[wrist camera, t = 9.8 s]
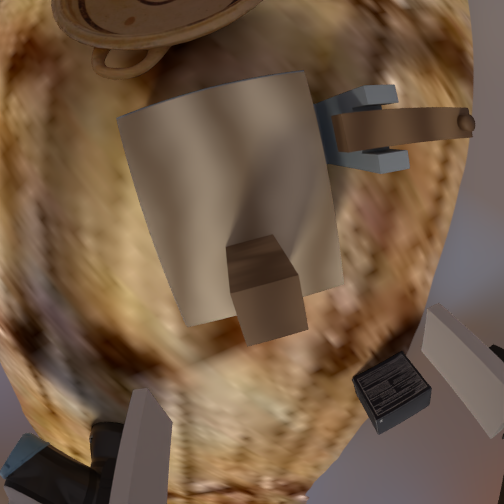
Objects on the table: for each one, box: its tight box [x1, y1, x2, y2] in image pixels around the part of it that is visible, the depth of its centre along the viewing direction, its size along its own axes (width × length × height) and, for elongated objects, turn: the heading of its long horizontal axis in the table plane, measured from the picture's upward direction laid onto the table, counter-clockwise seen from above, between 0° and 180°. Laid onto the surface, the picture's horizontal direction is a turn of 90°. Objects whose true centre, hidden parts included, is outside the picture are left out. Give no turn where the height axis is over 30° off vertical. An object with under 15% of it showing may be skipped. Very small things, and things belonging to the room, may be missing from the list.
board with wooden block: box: [117, 72, 344, 347], centre depth 19 cm, size 15×19×9 cm
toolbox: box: [116, 70, 410, 324], centre depth 26 cm, size 22×20×12 cm
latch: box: [331, 107, 475, 153], centre depth 20 cm, size 15×3×3 cm, turn 103°
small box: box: [352, 351, 432, 435], centre depth 40 cm, size 11×6×10 cm, turn 113°
